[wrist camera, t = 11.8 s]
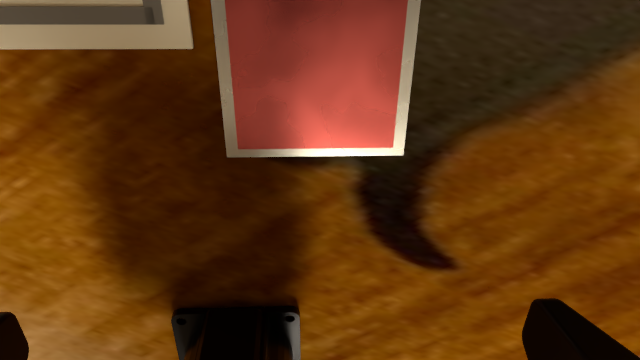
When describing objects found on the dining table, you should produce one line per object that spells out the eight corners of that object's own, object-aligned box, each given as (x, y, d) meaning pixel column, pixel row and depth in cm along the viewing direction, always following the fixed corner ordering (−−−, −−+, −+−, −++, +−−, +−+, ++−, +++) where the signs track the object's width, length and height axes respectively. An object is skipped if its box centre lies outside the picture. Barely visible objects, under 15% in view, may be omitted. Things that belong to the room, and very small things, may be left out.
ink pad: (397, 141, 20) (404, 158, 19) (230, 143, 20) (225, 160, 19) (423, -108, 16) (435, -107, 14) (205, -110, 15) (197, -110, 14)
